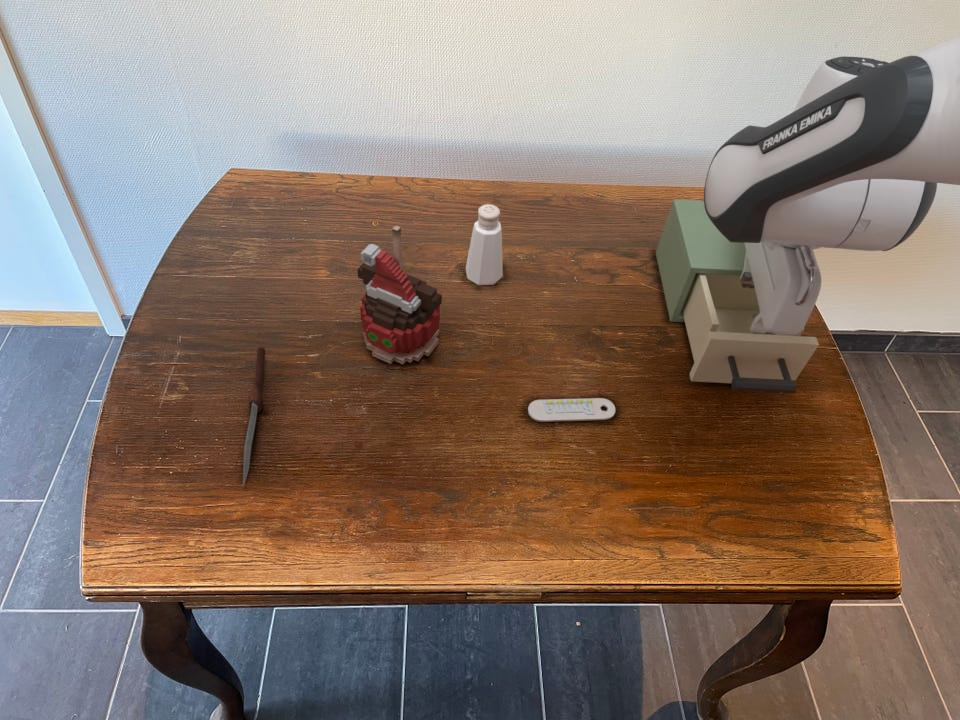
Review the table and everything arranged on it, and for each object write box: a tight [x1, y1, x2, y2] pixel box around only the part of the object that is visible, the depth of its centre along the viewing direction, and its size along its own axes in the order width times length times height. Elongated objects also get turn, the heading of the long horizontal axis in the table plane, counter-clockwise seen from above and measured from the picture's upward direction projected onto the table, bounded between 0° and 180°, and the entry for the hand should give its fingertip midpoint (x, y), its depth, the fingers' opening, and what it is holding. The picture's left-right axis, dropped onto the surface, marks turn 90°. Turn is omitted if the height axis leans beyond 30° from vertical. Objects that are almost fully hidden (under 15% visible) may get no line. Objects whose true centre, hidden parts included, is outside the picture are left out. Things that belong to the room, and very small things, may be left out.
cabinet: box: [655, 198, 746, 323], centre depth 94 cm, size 14×14×10 cm
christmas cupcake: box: [356, 225, 443, 365], centre depth 81 cm, size 11×9×18 cm
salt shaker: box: [465, 203, 504, 286], centre depth 93 cm, size 5×5×11 cm
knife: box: [242, 346, 266, 488], centre depth 78 cm, size 18×2×3 cm, turn 5°
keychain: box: [527, 397, 616, 423], centre depth 82 cm, size 10×1×3 cm
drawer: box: [682, 273, 820, 394], centre depth 85 cm, size 17×13×8 cm
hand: (751, 306), depth 83 cm, fingers open, 7 cm apart
